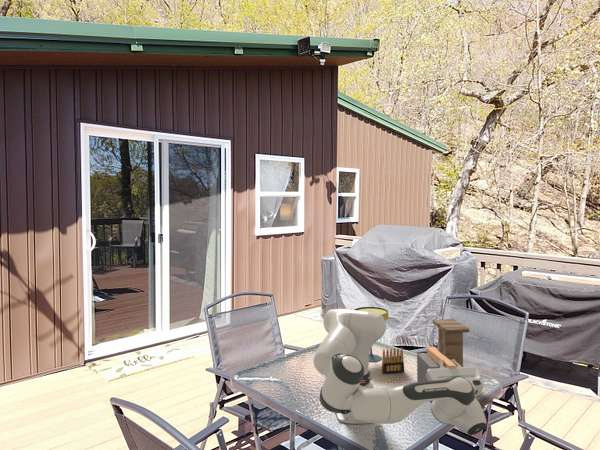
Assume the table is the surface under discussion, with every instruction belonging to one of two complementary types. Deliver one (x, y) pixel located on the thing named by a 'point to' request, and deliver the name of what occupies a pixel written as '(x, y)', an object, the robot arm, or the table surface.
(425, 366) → the grey concrete block
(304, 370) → the table surface
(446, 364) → the wooden bar
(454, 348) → the wooden pedestal stand
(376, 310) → the cocktail glass
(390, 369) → the ammunition clip
